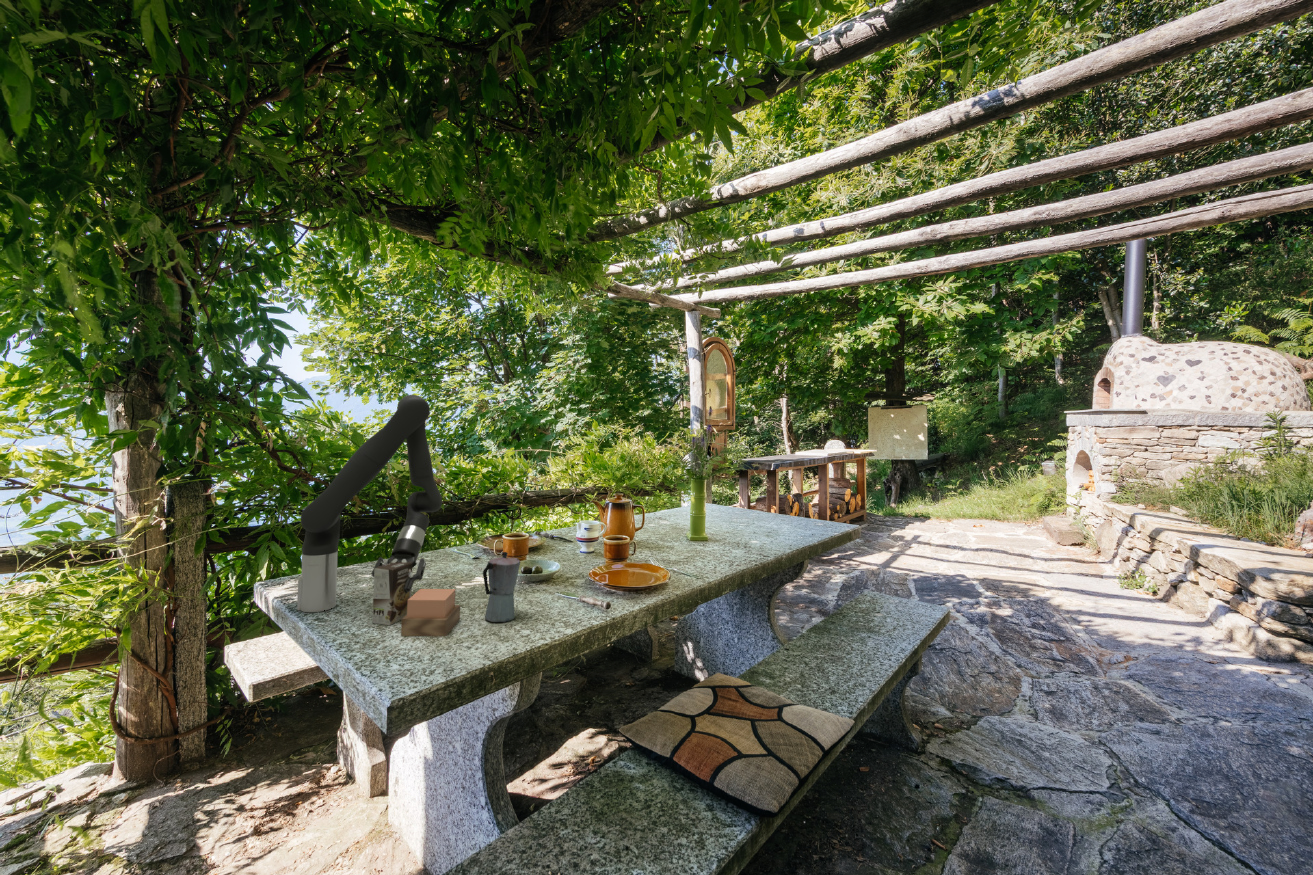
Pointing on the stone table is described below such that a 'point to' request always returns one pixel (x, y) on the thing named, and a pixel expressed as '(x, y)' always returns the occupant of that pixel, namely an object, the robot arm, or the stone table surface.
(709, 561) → the stone table surface
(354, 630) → the stone table surface
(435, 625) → the tower base block
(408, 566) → the coffee box
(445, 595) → the tower top block
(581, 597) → the stone table surface
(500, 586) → the moka pot
